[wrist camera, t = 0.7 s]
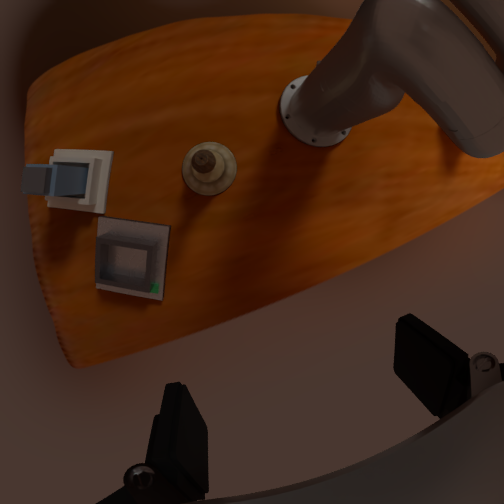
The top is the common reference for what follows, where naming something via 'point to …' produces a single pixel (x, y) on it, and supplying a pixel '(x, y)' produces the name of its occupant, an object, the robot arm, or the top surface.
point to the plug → (54, 180)
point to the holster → (96, 179)
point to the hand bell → (209, 168)
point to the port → (131, 257)
